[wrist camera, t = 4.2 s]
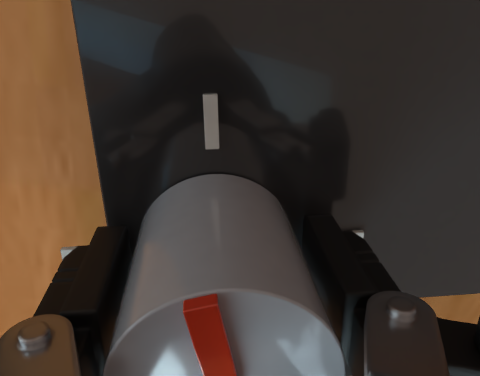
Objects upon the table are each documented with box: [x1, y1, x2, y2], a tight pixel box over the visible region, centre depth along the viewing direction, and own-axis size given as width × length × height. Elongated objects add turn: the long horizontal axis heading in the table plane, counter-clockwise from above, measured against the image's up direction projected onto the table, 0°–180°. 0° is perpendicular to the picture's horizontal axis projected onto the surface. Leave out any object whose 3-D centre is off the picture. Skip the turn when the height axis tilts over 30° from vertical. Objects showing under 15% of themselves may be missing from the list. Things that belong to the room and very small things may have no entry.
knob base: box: [61, 0, 480, 298], centre depth 13 cm, size 15×12×3 cm
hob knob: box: [102, 174, 346, 376], centre depth 10 cm, size 4×4×5 cm
